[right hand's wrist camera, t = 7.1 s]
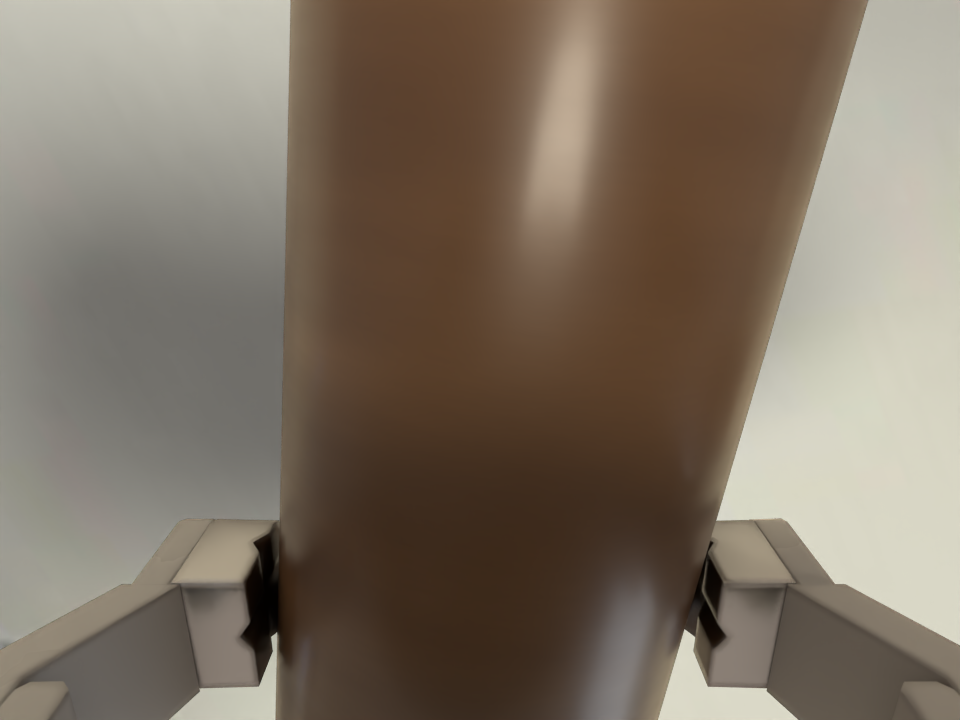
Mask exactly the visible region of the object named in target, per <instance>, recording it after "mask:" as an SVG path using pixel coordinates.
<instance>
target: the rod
mask: <svg viewBox="0 0 960 720" xmlns="http://www.w3.org/2000/svg"><path fill="white" fill-rule="evenodd" d="M867 3H868V0H291V11H290V58H289V106H288V153H287V200H286V248H285V295H284V343H283V390H282V437H281V485H280V532H279V580H278V627H277V674H276V720H658V718H659V714H660V711H661V707H662V704H663V700H664V697H665V694H666V690H667V687H668V683H669V680H670V676H671V673H672V670H673V666H674V663H675V659H676V656H677V653H678V649H679V646H680V642H681V639H682V635H683V632H684V629H685V625H686V622H687V618H688V615H689V612H690V608H691V605H692V601H693V598H694V594H695V591H696V588H697V584H698V581H699V577H700V574H701V571H702V567H703V564H704V560H705V557H706V553H707V550H708V547H709V543H710V540H711V536H712V533H713V529H714V526H715V523H716V519H717V516H718V512H719V509H720V506H721V502H722V499H723V495H724V492H725V488H726V485H727V482H728V478H729V475H730V471H731V468H732V465H733V461H734V458H735V454H736V451H737V447H738V444H739V441H740V437H741V434H742V430H743V427H744V423H745V420H746V417H747V413H748V410H749V406H750V403H751V400H752V396H753V393H754V389H755V386H756V382H757V379H758V376H759V372H760V369H761V365H762V362H763V359H764V355H765V352H766V348H767V345H768V341H769V338H770V335H771V331H772V328H773V324H774V321H775V318H776V314H777V311H778V307H779V304H780V300H781V297H782V294H783V290H784V287H785V283H786V280H787V276H788V273H789V270H790V266H791V263H792V259H793V256H794V253H795V249H796V246H797V242H798V239H799V235H800V232H801V229H802V225H803V222H804V218H805V215H806V212H807V208H808V205H809V201H810V198H811V194H812V191H813V188H814V184H815V181H816V177H817V174H818V171H819V167H820V164H821V160H822V157H823V153H824V150H825V147H826V143H827V140H828V136H829V133H830V129H831V126H832V123H833V119H834V116H835V112H836V109H837V106H838V102H839V99H840V95H841V92H842V88H843V85H844V82H845V78H846V75H847V71H848V68H849V65H850V61H851V58H852V54H853V51H854V47H855V44H856V41H857V37H858V34H859V30H860V27H861V24H862V20H863V17H864V13H865V10H866V6H867Z"/></svg>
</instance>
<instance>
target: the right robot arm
mask: <svg viewBox="0 0 960 720" xmlns="http://www.w3.org/2000/svg"><path fill="white" fill-rule="evenodd" d="M279 532H280V521H279V520H239V519H217V520H215V519H185V520H182V521H179V522H178V523H177V525H176V526H175V527H174V529H173V530H172V531H171V533H170V534H169V535H168V537H167V538H166V539H165V541H164V542H163V543H162V545H161V546H160V547H159V549H158V550H157V551H156V553H155V554H154V555H153V557H152V558H151V559H150V561H149V562H148V563H147V565H146V566H145V567H144V569H143V570H142V571H141V573H140V574H139V575H138V577H137V578H136V579H135V581H134V582H133V583H132V584H121V585H120V586H118V587H116V588H114V589H112V590H110V591H108V592H107V593H105V594H103V595H101V596H99V597H97V598H95V599H94V600H92V601H90V602H88V603H86V604H84V605H82V606H81V607H79V608H77V609H75V610H73V611H71V612H69V613H68V614H66V615H64V616H62V617H60V618H58V619H56V620H55V621H53V622H51V623H49V624H47V625H45V626H43V627H42V628H40V629H38V630H36V631H34V632H32V633H30V634H29V635H27V636H25V637H23V638H21V639H19V640H17V641H16V642H14V643H12V644H10V645H8V646H6V647H4V648H3V649H1V650H0V720H169V719H170V718H171V717H172V716H173V715H174V714H176V713H177V712H178V711H179V710H180V709H181V708H182V707H183V706H184V705H185V704H187V703H188V702H189V701H190V700H191V699H192V698H193V697H194V696H195V695H196V694H197V693H199V692H200V690H199V688H223V687H258V686H259V685H260V682H261V680H262V677H263V675H264V672H265V669H266V667H267V664H268V662H269V659H270V657H271V654H272V652H273V650H272V642H271V636H273V635H274V634H275V633H277V627H278V580H279ZM685 630H687V631H688V632H689V633H691V634H692V635H693V636H695V644H694V654H695V656H696V659H697V661H698V663H699V666H700V668H701V671H702V673H703V676H704V678H705V681H706V683H707V686H708V687H742V688H767V692H768V693H770V694H771V695H772V696H773V697H774V698H775V699H776V700H777V701H778V702H780V703H781V704H782V705H783V706H784V707H785V708H786V709H787V710H788V711H789V712H791V713H792V714H793V715H794V716H795V717H796V718H797V719H798V720H960V645H958V644H956V643H954V642H952V641H950V640H948V639H947V638H945V637H943V636H941V635H939V634H937V633H935V632H934V631H932V630H930V629H928V628H926V627H924V626H922V625H920V624H919V623H917V622H915V621H913V620H911V619H909V618H907V617H905V616H904V615H902V614H900V613H898V612H896V611H894V610H892V609H891V608H889V607H887V606H885V605H883V604H881V603H879V602H877V601H876V600H874V599H872V598H870V597H868V596H866V595H864V594H863V593H861V592H859V591H857V590H855V589H853V588H851V587H849V586H848V585H846V584H835V583H834V582H833V581H832V579H831V578H830V577H829V575H828V574H827V573H826V572H825V570H824V569H823V568H822V566H821V565H820V564H819V562H818V561H817V560H816V559H815V557H814V556H813V555H812V553H811V552H810V551H809V549H808V548H807V547H806V546H805V544H804V543H803V542H802V540H801V539H800V538H799V536H798V535H797V534H796V533H795V531H794V530H793V529H792V527H791V526H790V525H789V523H788V522H787V521H785V520H783V519H781V518H779V519H750V520H725V521H716V523H715V526H714V529H713V533H712V536H711V540H710V543H709V547H708V550H707V553H706V557H705V560H704V564H703V567H702V571H701V574H700V577H699V581H698V584H697V588H696V591H695V594H694V598H693V601H692V605H691V608H690V612H689V615H688V618H687V622H686V625H685Z"/></svg>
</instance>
